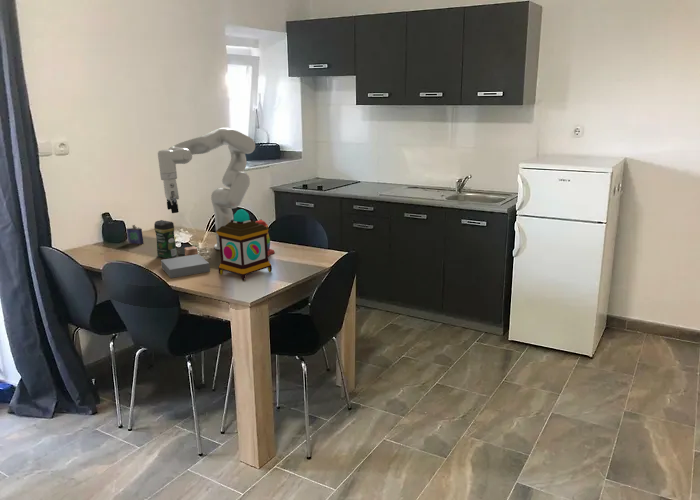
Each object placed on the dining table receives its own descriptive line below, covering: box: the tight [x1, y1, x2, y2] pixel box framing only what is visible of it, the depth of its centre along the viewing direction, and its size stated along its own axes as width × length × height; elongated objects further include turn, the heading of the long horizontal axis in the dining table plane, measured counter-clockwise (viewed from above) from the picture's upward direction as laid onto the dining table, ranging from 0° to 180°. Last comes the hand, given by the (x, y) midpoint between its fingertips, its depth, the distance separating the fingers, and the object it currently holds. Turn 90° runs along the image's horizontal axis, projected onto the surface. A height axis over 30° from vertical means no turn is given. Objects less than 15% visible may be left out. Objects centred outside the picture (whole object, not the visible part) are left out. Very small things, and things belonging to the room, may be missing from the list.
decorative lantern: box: [215, 208, 273, 282], centre depth 262 cm, size 20×20×30 cm
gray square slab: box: [160, 254, 211, 279], centre depth 273 cm, size 18×18×4 cm
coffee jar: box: [153, 219, 178, 259], centre depth 293 cm, size 10×8×19 cm
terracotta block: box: [183, 246, 198, 256], centre depth 289 cm, size 5×5×6 cm
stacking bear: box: [255, 219, 276, 258], centre depth 293 cm, size 11×10×18 cm
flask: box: [125, 224, 144, 246], centre depth 320 cm, size 9×3×11 cm, turn 76°
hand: (173, 210), depth 283 cm, fingers open, 9 cm apart
